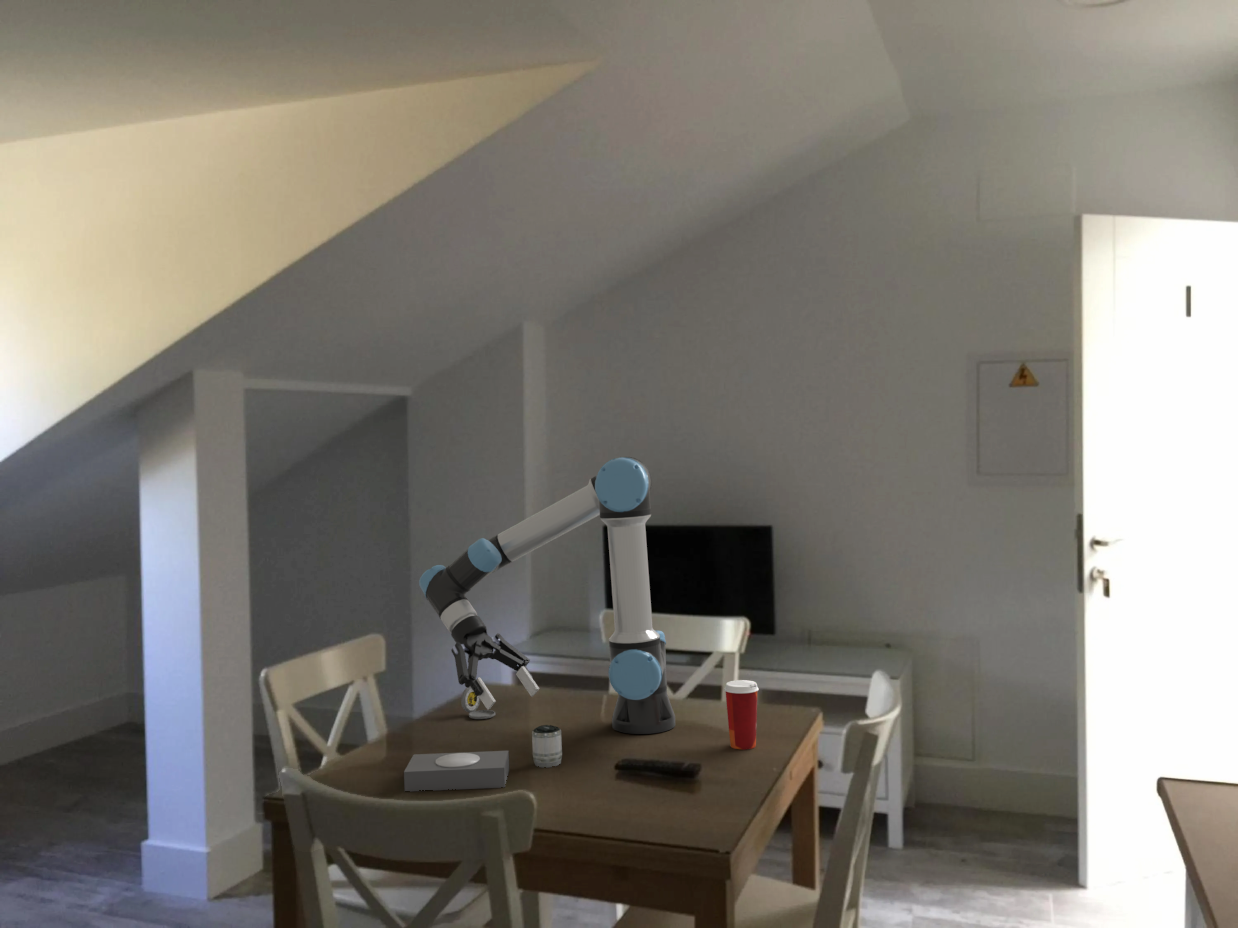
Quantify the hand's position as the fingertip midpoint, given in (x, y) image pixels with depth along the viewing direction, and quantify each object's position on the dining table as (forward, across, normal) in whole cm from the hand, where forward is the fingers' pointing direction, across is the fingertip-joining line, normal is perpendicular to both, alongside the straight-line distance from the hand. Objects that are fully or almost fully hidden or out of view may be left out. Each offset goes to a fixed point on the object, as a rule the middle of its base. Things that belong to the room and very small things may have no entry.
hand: (514, 698), depth 239 cm
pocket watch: (-14, -21, -33) cm, 42 cm away
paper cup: (+35, -34, +17) cm, 52 cm away
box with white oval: (+10, +18, -8) cm, 22 cm away
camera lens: (+16, -1, -3) cm, 16 cm away
